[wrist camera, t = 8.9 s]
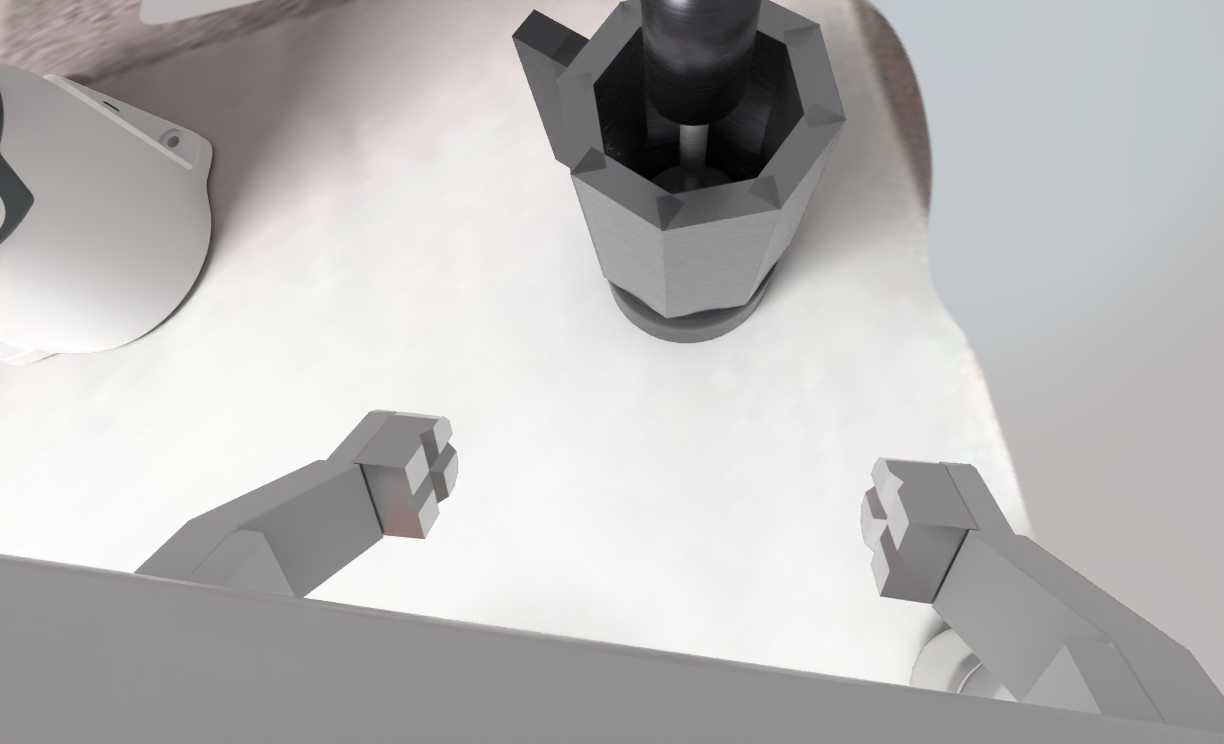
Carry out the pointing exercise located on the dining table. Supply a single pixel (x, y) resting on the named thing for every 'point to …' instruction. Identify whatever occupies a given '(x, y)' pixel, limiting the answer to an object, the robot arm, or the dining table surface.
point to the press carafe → (649, 144)
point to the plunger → (696, 75)
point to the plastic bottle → (955, 669)
